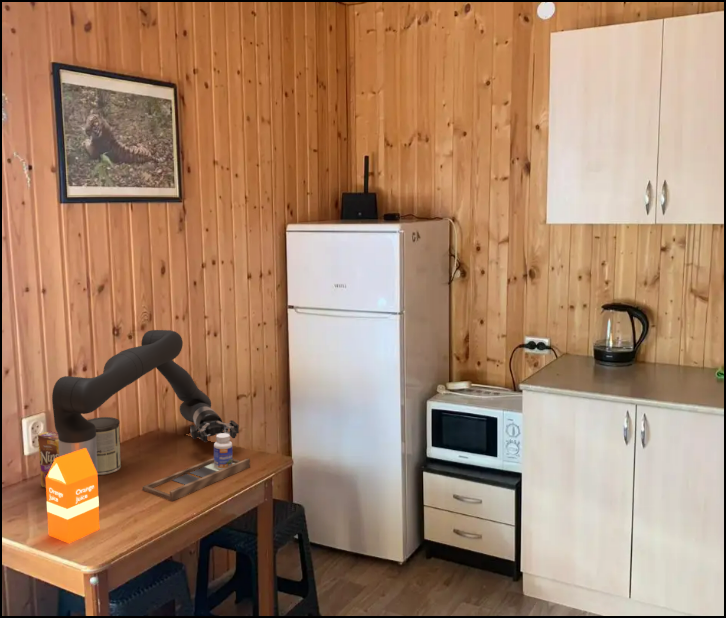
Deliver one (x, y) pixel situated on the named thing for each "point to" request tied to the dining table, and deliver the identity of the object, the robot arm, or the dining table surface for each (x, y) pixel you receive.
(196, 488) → the tray
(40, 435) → the candy box
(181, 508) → the dining table surface
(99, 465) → the coffee can
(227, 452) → the pill bottle
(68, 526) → the orange juice
